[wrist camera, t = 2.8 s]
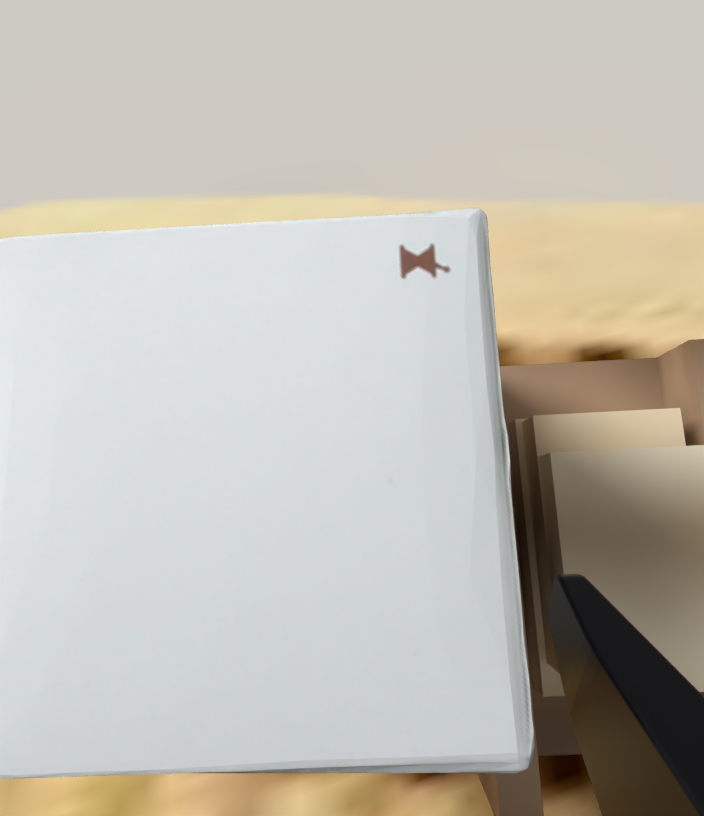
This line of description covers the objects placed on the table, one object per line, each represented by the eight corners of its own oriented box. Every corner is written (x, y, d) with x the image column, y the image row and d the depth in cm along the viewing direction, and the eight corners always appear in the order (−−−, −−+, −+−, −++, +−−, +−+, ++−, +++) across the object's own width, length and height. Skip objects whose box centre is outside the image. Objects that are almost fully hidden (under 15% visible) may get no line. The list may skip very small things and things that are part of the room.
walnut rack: (722, 734, 18) (855, 819, 13) (466, 745, 18) (501, 832, 13) (665, 364, 20) (761, 315, 15) (437, 376, 20) (458, 332, 15)
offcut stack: (684, 677, 17) (764, 720, 14) (531, 684, 17) (572, 728, 14) (646, 417, 19) (711, 395, 15) (506, 424, 19) (537, 404, 15)
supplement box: (215, 395, 20) (-26, 213, 8) (423, 387, 20) (506, 189, 8) (212, 611, 19) (-83, 796, 7) (435, 605, 19) (557, 785, 6)
